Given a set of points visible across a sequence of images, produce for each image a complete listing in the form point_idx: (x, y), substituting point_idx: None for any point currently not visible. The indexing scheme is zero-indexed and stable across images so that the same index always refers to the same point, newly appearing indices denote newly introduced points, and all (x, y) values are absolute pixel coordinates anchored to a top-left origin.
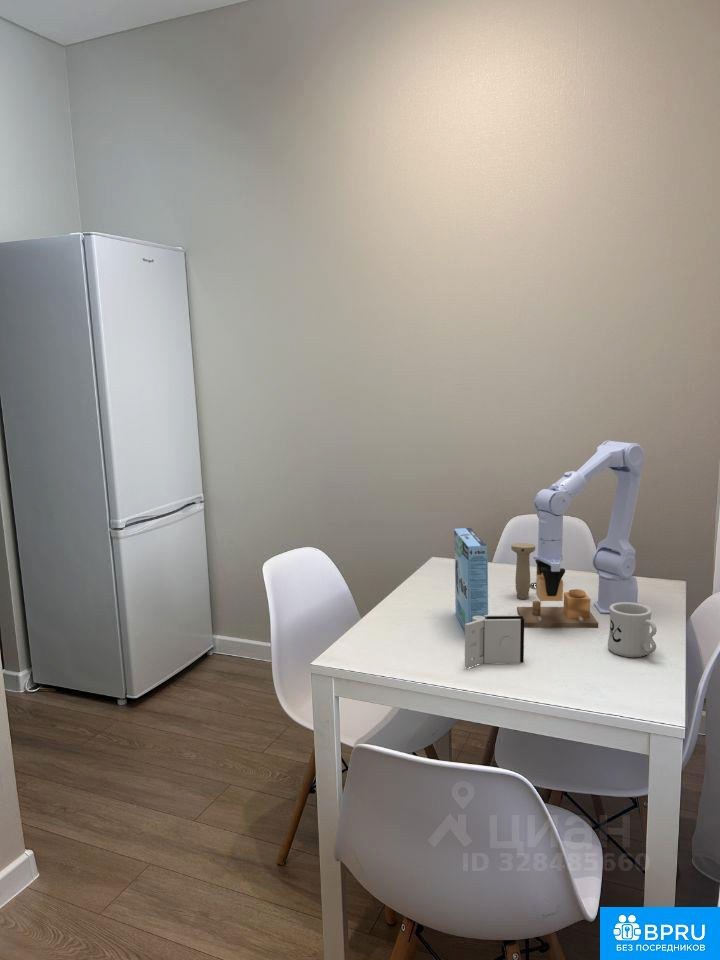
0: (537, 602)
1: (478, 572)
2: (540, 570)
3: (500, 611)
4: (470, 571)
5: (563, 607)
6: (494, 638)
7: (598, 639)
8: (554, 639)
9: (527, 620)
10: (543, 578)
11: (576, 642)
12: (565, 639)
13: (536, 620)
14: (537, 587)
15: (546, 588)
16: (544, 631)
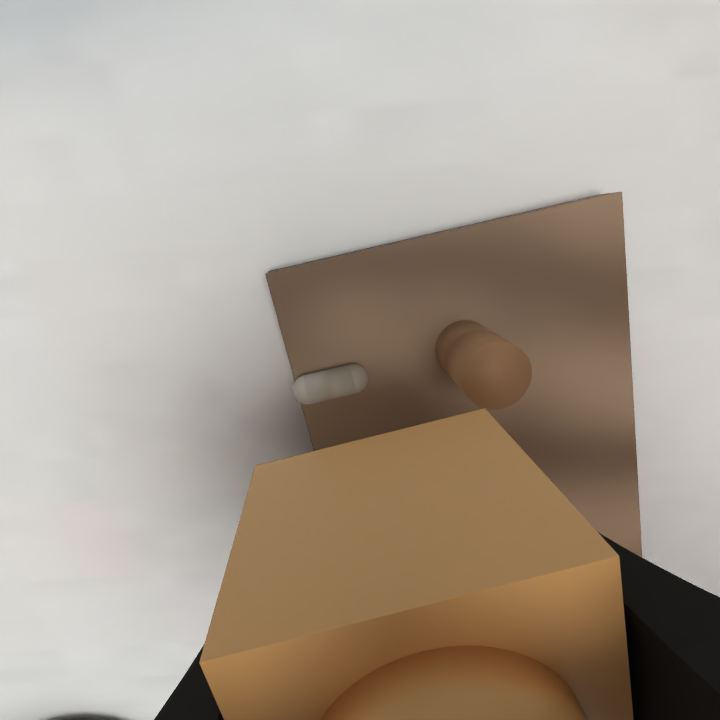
0: (486, 385)
1: None
2: (703, 692)
3: (586, 58)
4: None
5: (627, 501)
6: None
7: None
8: (111, 471)
9: (322, 296)
10: (344, 706)
11: (110, 580)
12: (135, 526)
13: (336, 358)
14: (440, 474)
15: (202, 648)
16: (233, 406)
